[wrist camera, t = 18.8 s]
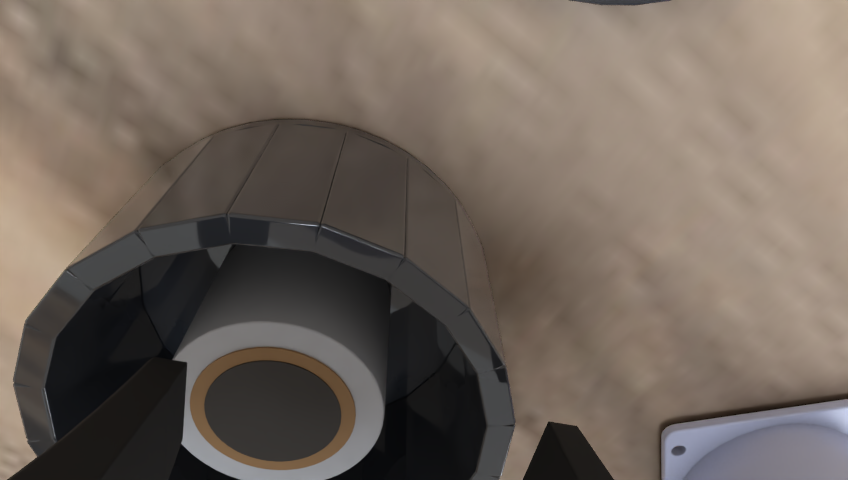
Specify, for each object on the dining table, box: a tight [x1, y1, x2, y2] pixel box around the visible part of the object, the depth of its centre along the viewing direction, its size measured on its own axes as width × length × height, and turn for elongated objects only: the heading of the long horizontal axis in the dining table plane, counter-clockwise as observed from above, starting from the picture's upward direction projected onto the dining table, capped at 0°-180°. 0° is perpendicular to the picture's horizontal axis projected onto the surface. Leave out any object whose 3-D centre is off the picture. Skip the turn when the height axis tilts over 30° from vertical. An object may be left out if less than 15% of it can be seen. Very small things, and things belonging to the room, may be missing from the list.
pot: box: [13, 119, 516, 480], centre depth 17 cm, size 11×11×6 cm
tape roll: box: [172, 245, 391, 480], centre depth 17 cm, size 5×5×5 cm
